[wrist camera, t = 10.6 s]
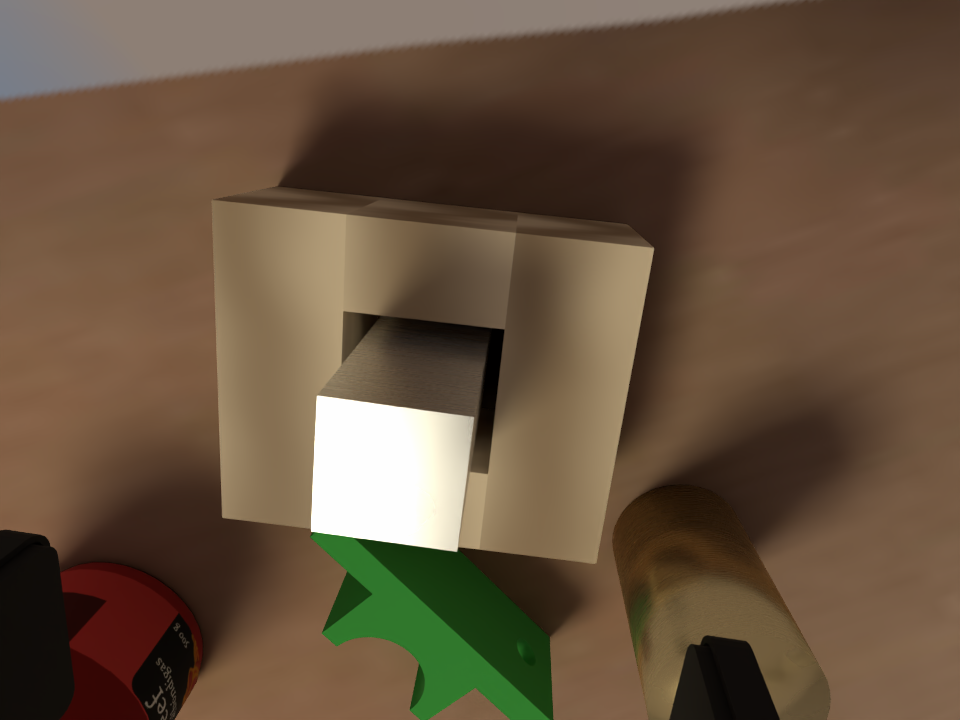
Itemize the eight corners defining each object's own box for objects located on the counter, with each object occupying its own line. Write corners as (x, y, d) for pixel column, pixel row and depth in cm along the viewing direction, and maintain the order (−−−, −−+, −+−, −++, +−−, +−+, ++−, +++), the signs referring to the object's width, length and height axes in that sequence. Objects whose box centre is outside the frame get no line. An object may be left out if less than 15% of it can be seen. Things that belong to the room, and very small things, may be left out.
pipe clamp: (301, 508, 27) (257, 578, 23) (364, 454, 26) (331, 516, 22) (485, 679, 29) (477, 774, 25) (550, 635, 28) (554, 726, 24)
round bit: (754, 493, 25) (852, 646, 18) (726, 600, 27) (804, 783, 19) (623, 477, 25) (665, 622, 18) (603, 585, 27) (633, 760, 19)
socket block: (627, 224, 22) (654, 248, 18) (583, 484, 26) (596, 563, 21) (276, 186, 23) (211, 199, 18) (277, 448, 26) (222, 517, 21)
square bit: (494, 304, 24) (474, 416, 14) (483, 392, 25) (457, 551, 15) (400, 291, 24) (316, 395, 14) (393, 379, 25) (311, 531, 15)
